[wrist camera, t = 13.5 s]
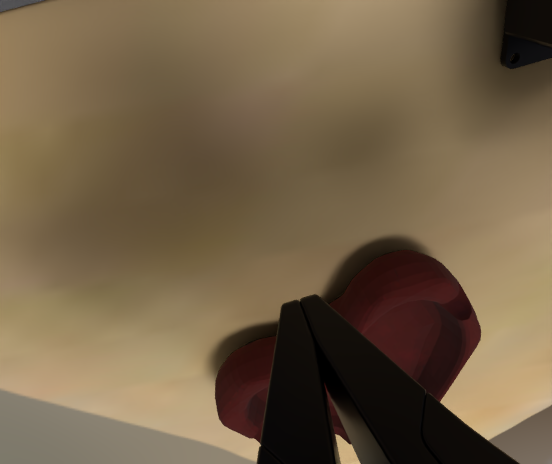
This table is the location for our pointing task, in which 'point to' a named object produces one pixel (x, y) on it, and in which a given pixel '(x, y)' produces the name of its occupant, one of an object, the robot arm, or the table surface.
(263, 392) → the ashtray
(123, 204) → the table surface
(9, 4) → the mat
